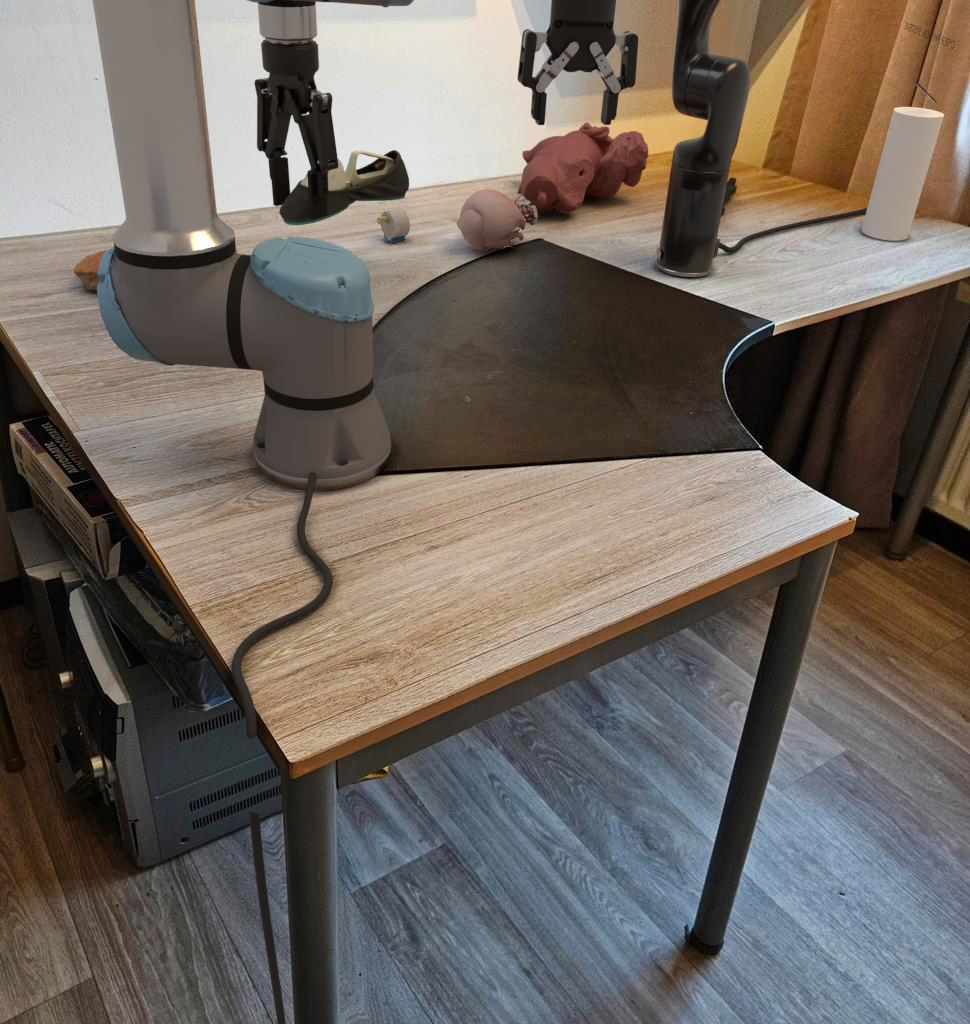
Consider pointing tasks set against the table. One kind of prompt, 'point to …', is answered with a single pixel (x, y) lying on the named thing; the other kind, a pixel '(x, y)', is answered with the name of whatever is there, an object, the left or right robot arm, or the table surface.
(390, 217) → the electric motor
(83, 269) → the ceramic shard
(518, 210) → the toy
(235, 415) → the table surface
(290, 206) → the ballet flat
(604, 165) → the reddish-brown lumpy piece
